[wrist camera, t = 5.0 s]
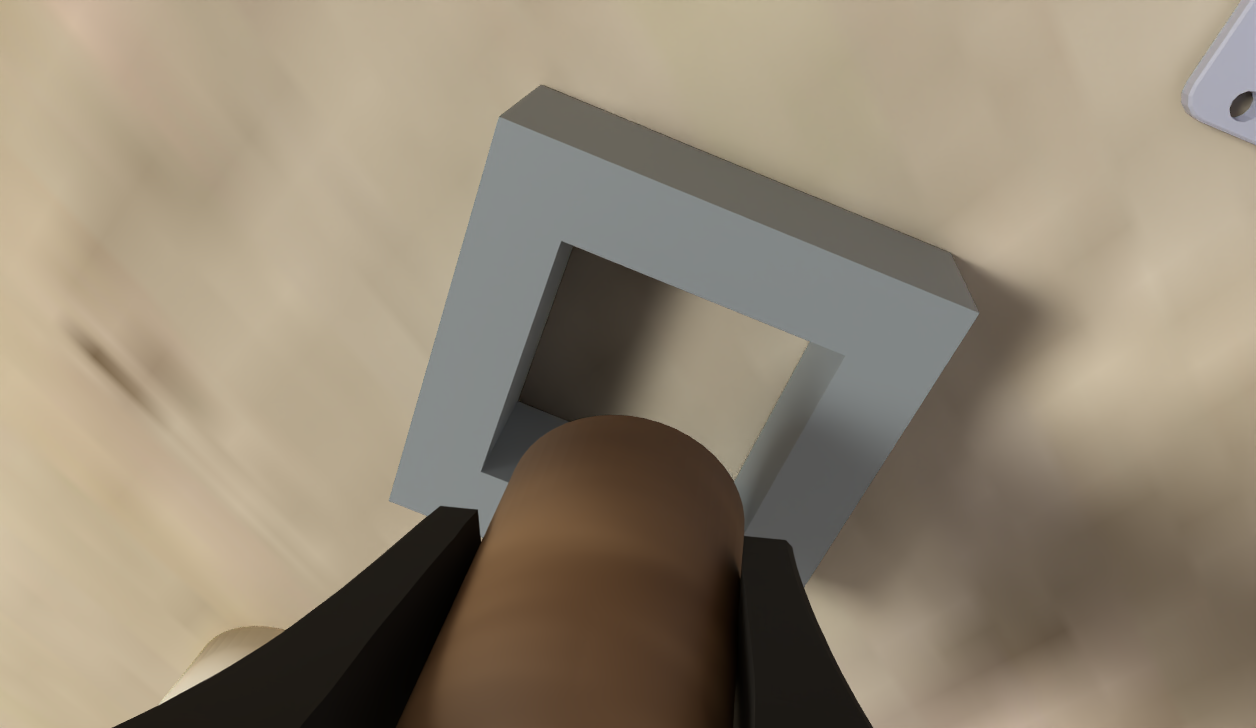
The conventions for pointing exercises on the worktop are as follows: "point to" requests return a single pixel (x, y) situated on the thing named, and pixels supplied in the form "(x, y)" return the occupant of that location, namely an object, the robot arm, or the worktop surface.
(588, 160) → the socket board
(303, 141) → the worktop surface
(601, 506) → the walnut dowel
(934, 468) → the worktop surface
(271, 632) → the ivory rounded cylinder
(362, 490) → the worktop surface
